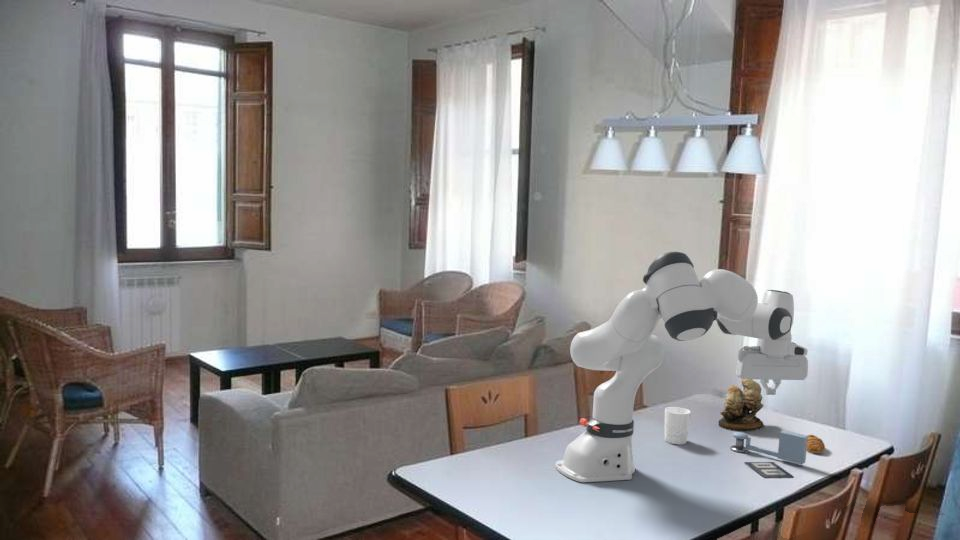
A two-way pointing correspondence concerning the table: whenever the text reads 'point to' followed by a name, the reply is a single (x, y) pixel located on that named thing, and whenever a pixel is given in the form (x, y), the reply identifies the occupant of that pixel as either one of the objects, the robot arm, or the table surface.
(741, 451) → the pivot post
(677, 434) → the white cup
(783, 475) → the label panel
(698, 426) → the table surface
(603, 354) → the robot arm
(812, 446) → the pastry
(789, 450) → the swing arm
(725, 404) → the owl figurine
